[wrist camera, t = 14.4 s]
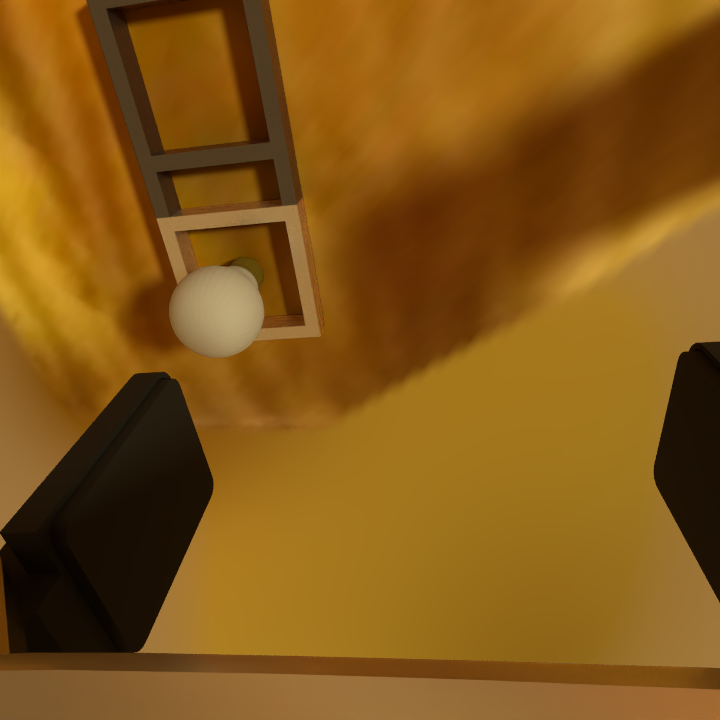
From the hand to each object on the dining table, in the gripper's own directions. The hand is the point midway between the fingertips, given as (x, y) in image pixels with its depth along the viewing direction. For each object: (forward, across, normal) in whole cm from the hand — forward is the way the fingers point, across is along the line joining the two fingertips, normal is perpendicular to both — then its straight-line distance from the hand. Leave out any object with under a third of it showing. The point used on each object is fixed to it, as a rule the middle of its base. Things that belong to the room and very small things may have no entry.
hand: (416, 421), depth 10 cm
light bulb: (+28, +13, +7) cm, 32 cm away
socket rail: (+28, +13, 0) cm, 31 cm away
